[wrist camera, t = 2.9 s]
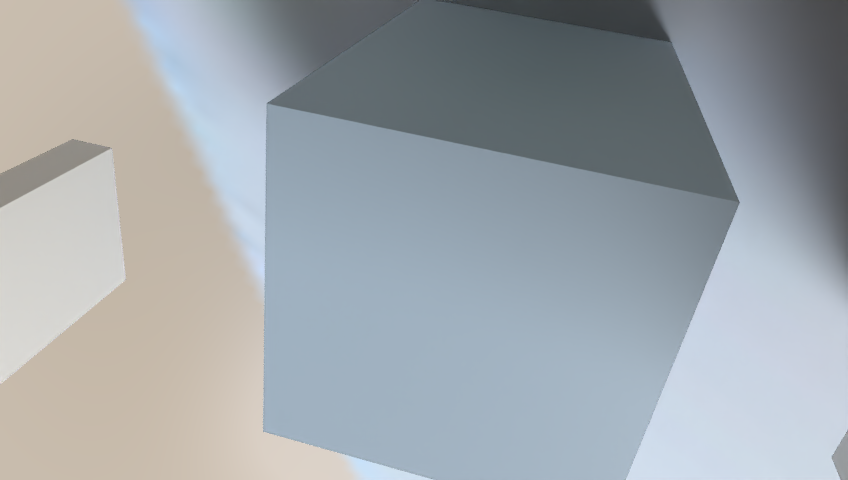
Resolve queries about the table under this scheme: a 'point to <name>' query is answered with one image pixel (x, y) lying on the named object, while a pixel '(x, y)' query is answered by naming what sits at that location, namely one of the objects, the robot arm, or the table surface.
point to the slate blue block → (485, 245)
